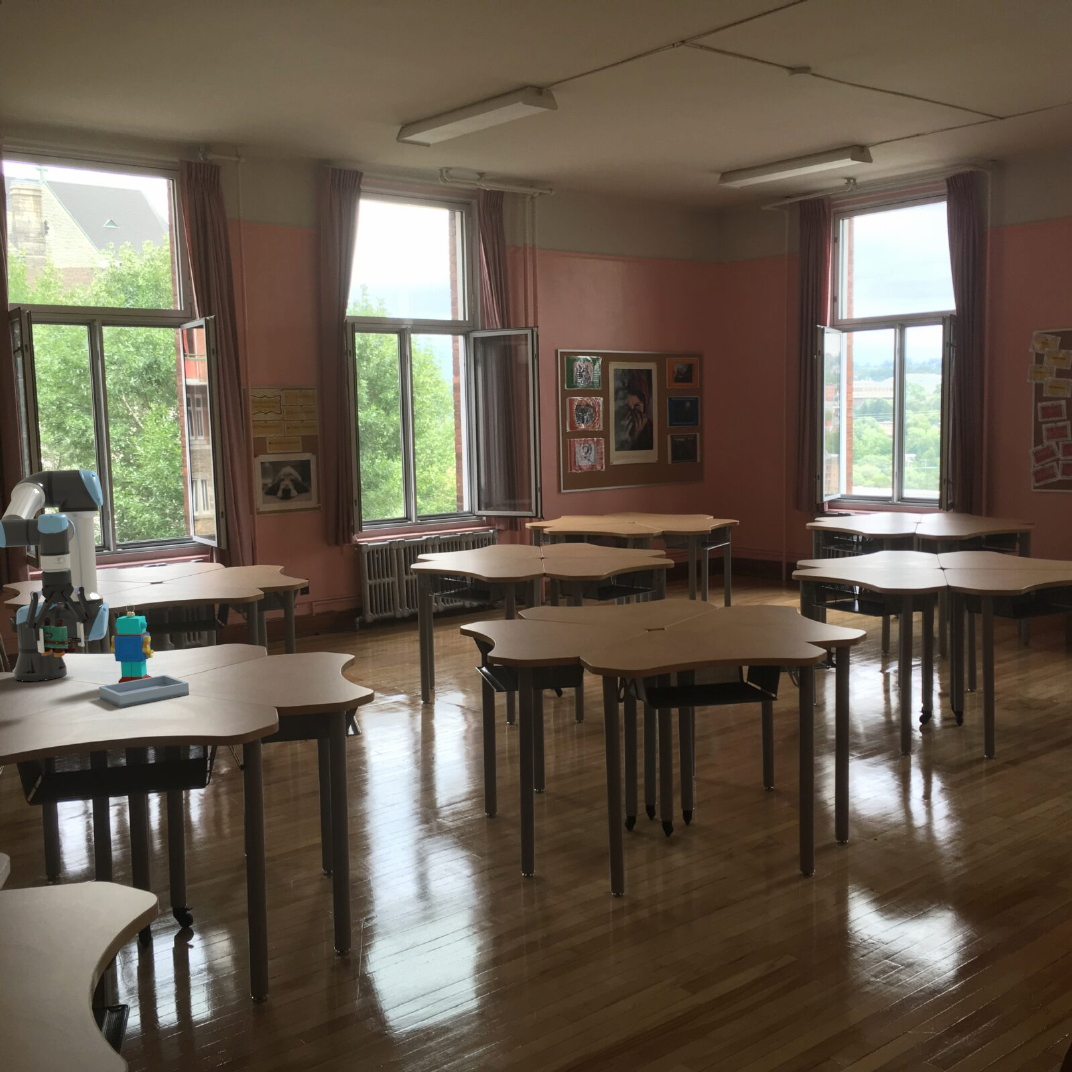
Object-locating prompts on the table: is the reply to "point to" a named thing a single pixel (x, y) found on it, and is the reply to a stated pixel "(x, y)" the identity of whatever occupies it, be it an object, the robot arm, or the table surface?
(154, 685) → the light blue rectangular tray
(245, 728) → the table surface
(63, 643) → the binoculars
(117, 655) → the toy robot
